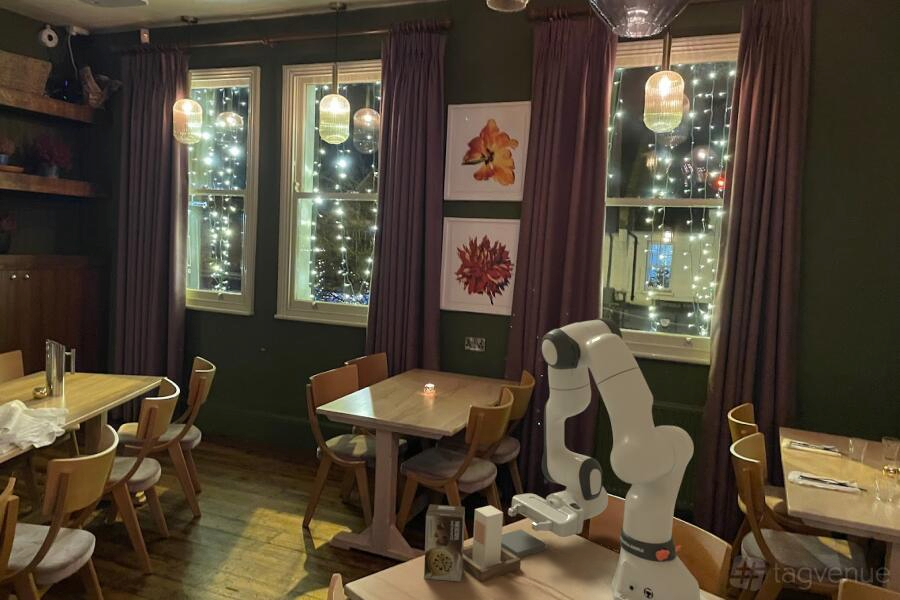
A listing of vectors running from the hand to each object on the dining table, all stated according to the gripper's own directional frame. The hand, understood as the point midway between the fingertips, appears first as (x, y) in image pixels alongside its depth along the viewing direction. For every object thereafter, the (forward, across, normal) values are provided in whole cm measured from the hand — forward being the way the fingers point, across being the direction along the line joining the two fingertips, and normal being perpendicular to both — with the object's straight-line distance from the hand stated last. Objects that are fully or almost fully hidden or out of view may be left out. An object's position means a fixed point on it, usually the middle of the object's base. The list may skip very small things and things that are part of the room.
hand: (521, 519), depth 171 cm
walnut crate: (+12, 0, +9) cm, 15 cm away
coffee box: (+24, -1, +9) cm, 25 cm away
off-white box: (+12, 0, +9) cm, 15 cm away
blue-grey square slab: (-2, -3, +9) cm, 10 cm away
